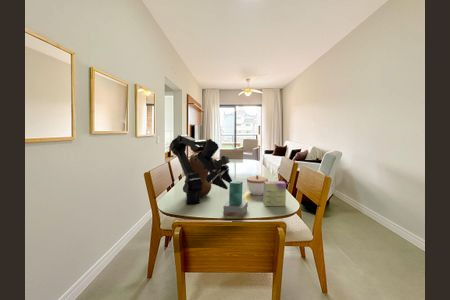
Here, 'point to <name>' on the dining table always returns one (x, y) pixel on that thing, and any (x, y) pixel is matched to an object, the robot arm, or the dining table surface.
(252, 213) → the dining table surface
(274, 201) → the box
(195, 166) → the butternut squash
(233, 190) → the teal block
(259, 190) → the lidded bowl
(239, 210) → the tower top slab
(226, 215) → the tower bottom slab
